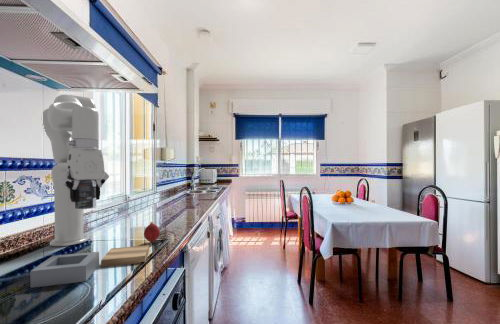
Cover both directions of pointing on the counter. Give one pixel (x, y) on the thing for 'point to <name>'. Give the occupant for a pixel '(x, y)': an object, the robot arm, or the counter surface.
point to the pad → (125, 256)
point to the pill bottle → (86, 194)
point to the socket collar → (64, 269)
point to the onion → (151, 232)
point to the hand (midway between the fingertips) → (85, 200)
